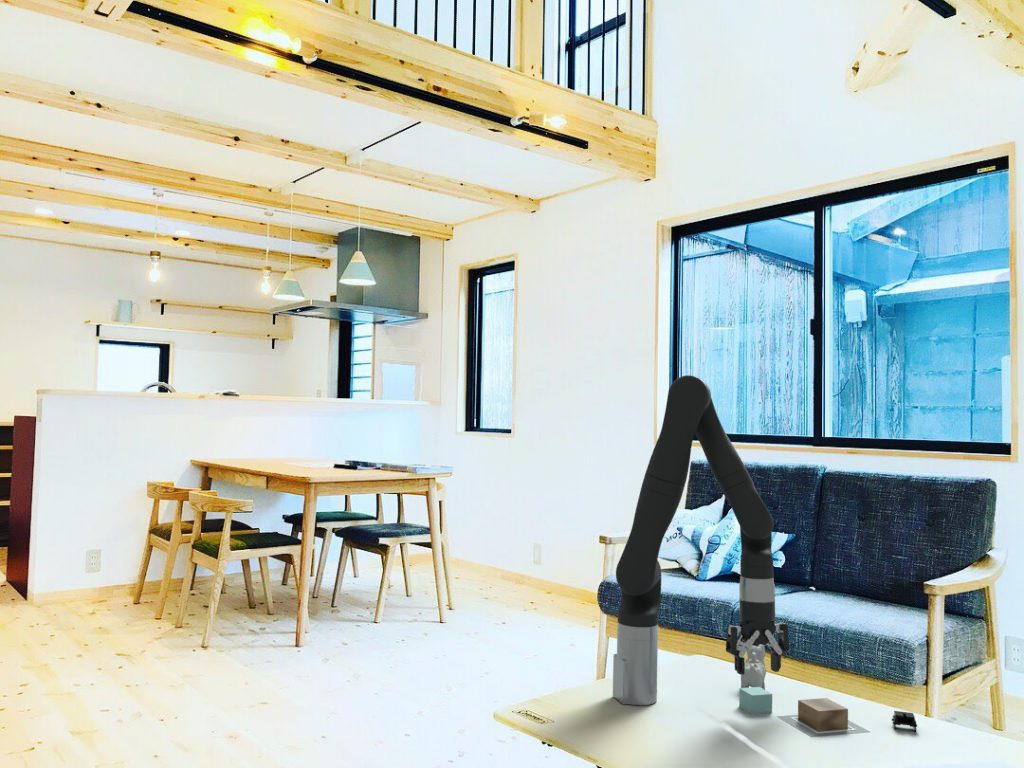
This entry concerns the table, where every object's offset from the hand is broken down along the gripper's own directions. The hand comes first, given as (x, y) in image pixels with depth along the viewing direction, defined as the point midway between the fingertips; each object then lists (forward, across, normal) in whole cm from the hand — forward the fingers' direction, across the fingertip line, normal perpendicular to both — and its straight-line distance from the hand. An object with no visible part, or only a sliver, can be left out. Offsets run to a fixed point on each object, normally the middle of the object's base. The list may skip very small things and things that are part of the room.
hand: (757, 672), depth 183 cm
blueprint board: (+9, -9, +10) cm, 16 cm away
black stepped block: (+10, -24, +16) cm, 31 cm away
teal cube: (+9, 0, 0) cm, 9 cm away
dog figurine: (+9, -8, -14) cm, 19 cm away
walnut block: (+8, -9, +10) cm, 16 cm away
